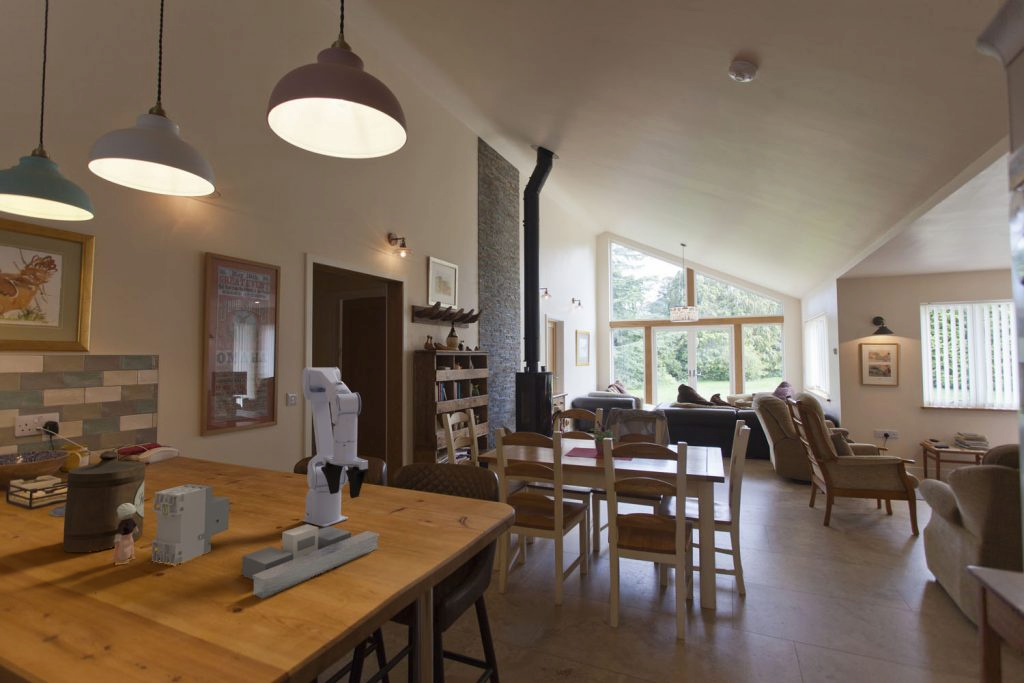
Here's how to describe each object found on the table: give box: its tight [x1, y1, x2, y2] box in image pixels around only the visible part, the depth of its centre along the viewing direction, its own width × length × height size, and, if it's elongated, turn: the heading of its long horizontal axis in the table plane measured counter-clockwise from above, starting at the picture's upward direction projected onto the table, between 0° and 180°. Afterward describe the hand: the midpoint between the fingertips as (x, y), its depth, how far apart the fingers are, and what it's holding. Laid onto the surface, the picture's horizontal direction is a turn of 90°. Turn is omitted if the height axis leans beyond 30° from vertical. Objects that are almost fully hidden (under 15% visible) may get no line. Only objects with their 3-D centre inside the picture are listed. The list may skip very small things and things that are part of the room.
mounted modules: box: [241, 525, 352, 581], centre depth 104 cm, size 8×21×4 cm, turn 149°
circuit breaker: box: [150, 483, 231, 565], centre depth 110 cm, size 8×14×15 cm, turn 161°
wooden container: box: [62, 450, 146, 553], centre depth 117 cm, size 15×15×22 cm
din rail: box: [252, 530, 380, 600], centre depth 100 cm, size 4×28×4 cm, turn 149°
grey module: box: [281, 523, 319, 559], centre depth 104 cm, size 4×6×7 cm
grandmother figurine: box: [112, 503, 138, 563], centre depth 104 cm, size 8×4×13 cm, turn 23°
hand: (344, 495), depth 119 cm, fingers open, 7 cm apart
